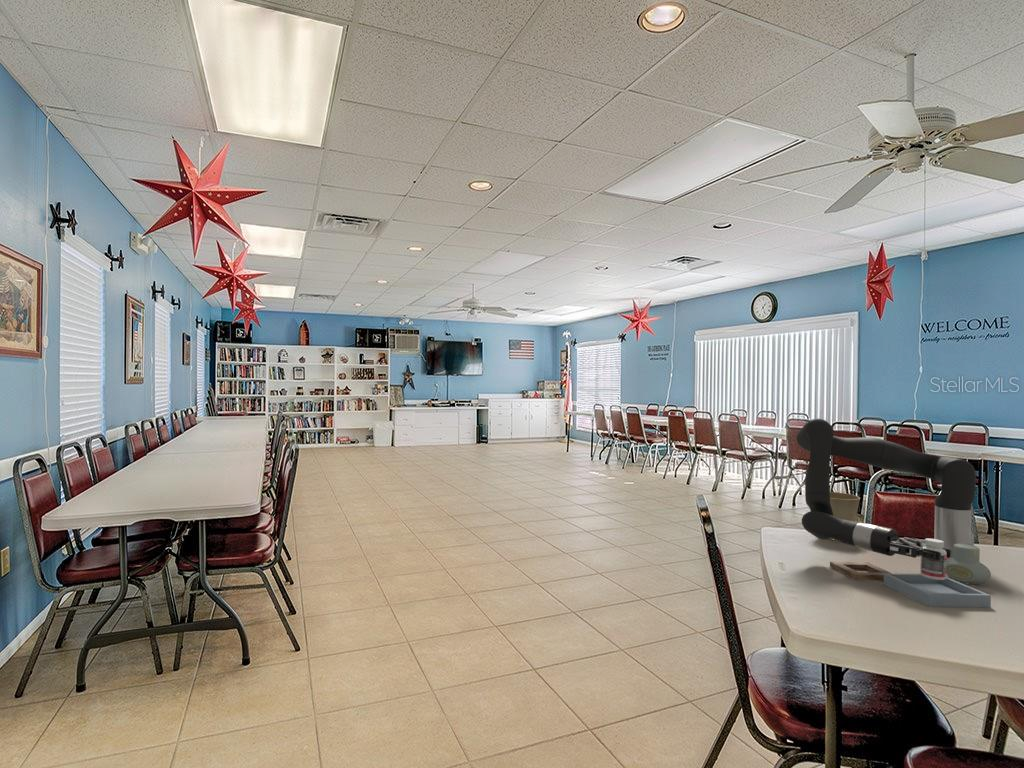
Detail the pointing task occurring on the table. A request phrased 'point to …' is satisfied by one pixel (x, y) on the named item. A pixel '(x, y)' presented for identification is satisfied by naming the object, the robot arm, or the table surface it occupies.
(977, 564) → the air freshener
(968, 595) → the slate tray
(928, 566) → the pill bottle
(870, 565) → the walnut socket
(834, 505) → the plant pot
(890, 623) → the table surface
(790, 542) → the table surface
